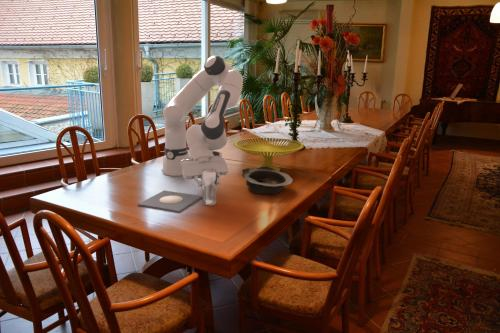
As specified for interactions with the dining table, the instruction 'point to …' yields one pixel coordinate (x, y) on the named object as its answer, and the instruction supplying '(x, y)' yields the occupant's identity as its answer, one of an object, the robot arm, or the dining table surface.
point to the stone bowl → (265, 180)
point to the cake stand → (268, 149)
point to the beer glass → (209, 186)
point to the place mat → (170, 201)
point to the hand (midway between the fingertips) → (209, 185)
